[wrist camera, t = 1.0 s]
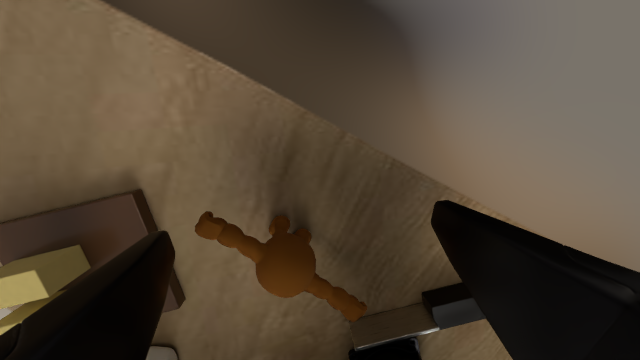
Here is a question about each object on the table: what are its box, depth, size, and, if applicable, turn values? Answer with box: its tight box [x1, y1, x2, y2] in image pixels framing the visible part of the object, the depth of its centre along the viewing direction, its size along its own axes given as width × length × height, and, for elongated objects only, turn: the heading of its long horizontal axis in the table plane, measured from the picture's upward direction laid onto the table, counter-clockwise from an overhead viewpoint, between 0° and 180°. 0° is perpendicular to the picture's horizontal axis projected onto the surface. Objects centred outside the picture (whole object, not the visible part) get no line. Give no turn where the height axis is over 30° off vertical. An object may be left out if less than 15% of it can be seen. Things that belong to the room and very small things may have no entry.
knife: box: [349, 283, 486, 351], centre depth 23 cm, size 14×2×3 cm, turn 103°
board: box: [0, 189, 185, 313], centre depth 21 cm, size 11×10×1 cm
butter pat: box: [0, 245, 91, 309], centre depth 18 cm, size 5×2×4 cm, turn 103°
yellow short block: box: [0, 290, 66, 335], centre depth 19 cm, size 5×4×4 cm
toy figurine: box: [195, 212, 367, 322], centre depth 19 cm, size 12×4×7 cm, turn 55°
